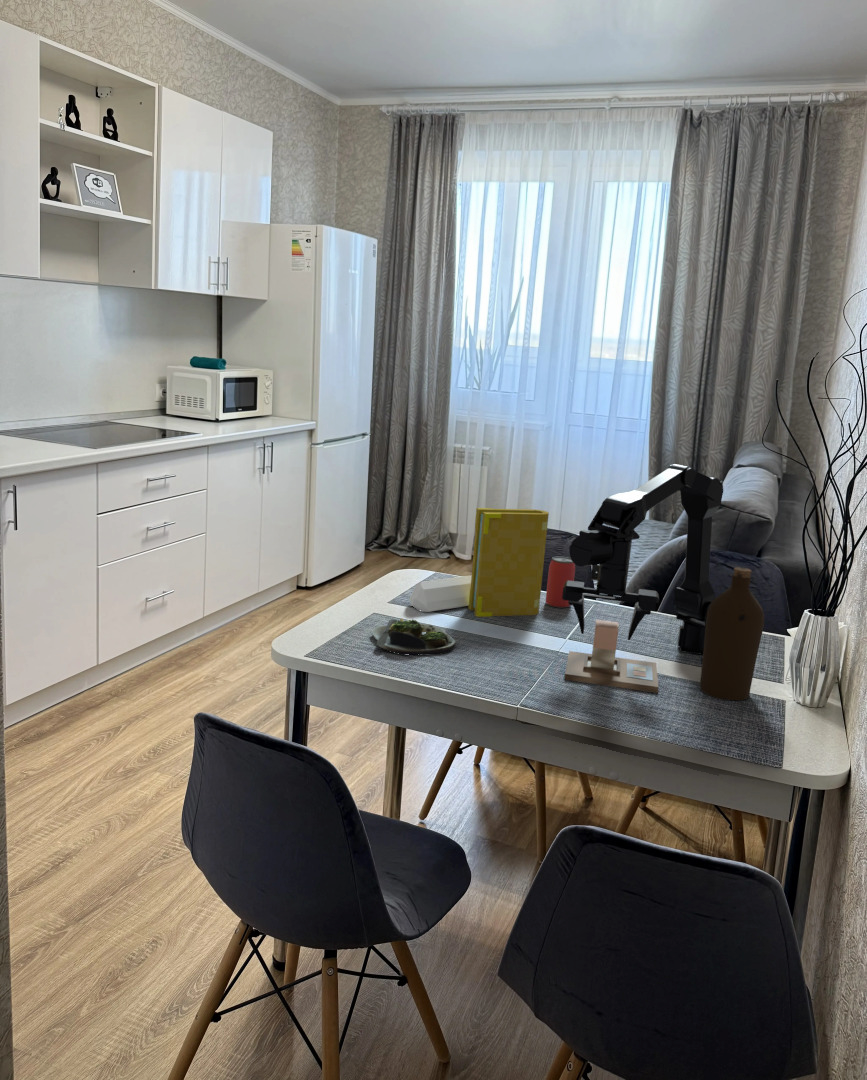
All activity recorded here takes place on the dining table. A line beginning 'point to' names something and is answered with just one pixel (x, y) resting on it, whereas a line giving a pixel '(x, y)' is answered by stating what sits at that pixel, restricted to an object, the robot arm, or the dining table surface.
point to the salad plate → (413, 638)
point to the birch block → (603, 658)
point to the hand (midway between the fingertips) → (605, 636)
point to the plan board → (613, 672)
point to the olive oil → (732, 640)
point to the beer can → (559, 580)
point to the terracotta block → (606, 635)
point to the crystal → (441, 594)
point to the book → (508, 561)
